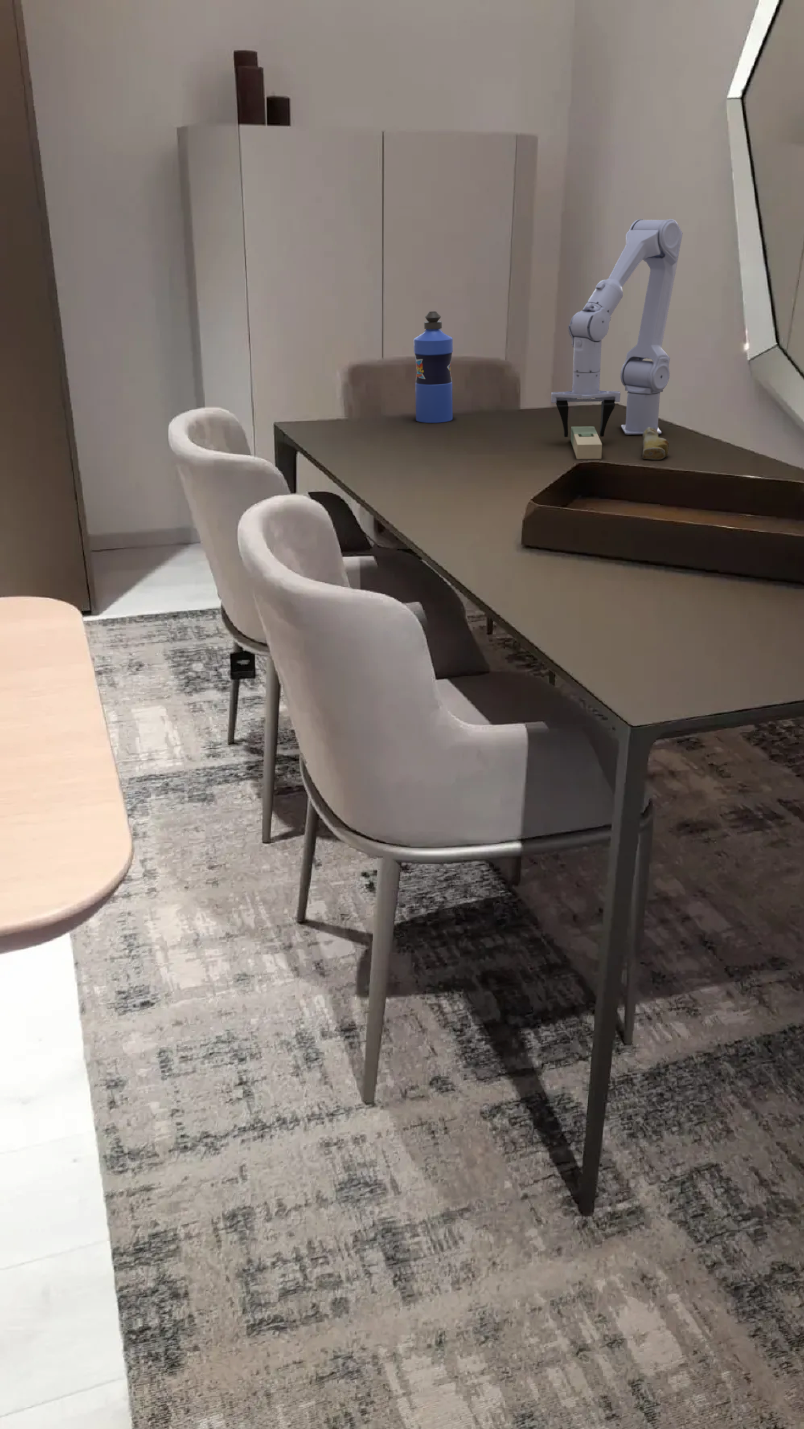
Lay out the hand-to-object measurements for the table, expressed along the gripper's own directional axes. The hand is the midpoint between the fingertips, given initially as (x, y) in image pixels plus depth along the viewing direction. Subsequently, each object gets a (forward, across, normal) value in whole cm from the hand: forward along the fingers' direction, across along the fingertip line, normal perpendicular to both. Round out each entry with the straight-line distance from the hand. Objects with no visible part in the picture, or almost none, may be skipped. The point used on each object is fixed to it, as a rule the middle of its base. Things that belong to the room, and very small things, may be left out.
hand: (583, 436), depth 239 cm
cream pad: (+2, 0, -10) cm, 10 cm away
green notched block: (+2, 0, -1) cm, 2 cm away
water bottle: (+2, -34, +32) cm, 47 cm away
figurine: (+2, +14, -10) cm, 17 cm away
